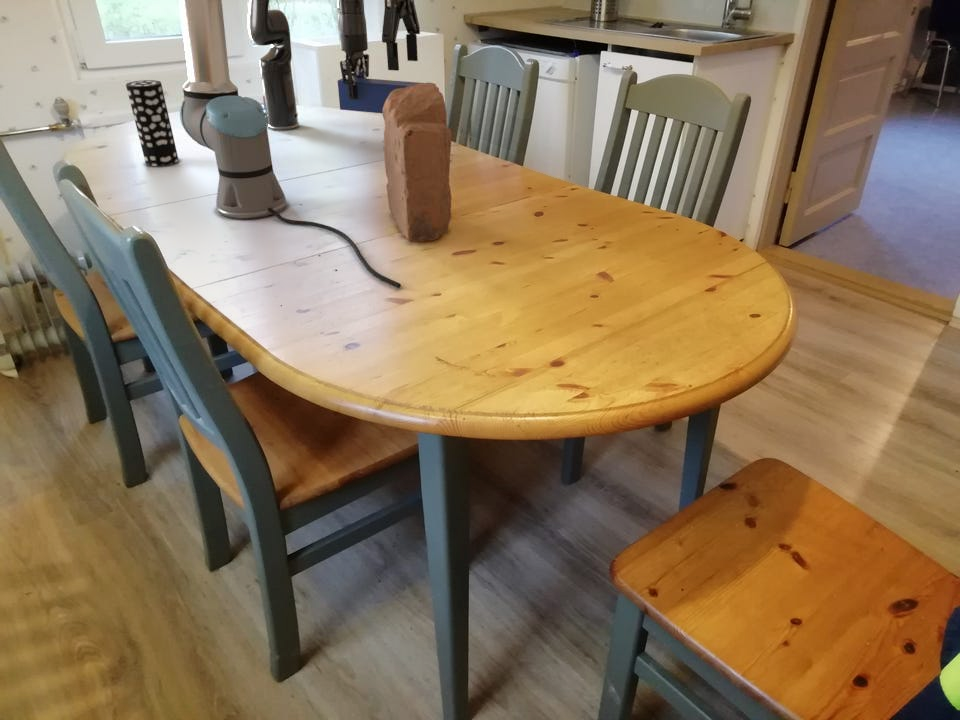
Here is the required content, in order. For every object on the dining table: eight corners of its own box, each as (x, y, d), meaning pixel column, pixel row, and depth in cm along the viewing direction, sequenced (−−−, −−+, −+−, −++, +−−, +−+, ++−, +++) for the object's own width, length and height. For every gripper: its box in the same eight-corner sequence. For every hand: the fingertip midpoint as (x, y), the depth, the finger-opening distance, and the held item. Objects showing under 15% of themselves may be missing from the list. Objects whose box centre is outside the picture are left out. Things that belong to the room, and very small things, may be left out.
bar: (430, 112, 194) (429, 83, 189) (423, 117, 189) (422, 87, 185) (348, 105, 199) (345, 76, 195) (340, 109, 195) (337, 80, 191)
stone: (462, 239, 143) (459, 96, 128) (408, 246, 140) (400, 100, 125) (434, 208, 160) (429, 79, 146) (387, 213, 157) (377, 82, 143)
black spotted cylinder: (184, 157, 190) (167, 80, 179) (169, 166, 183) (151, 87, 172) (155, 156, 190) (136, 79, 179) (139, 165, 183) (119, 86, 172)
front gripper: (402, -30, 182) (407, 56, 194) (363, -23, 162) (371, 73, 174) (429, -30, 180) (432, 57, 192) (392, -22, 160) (398, 75, 172)
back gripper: (351, 27, 192) (356, 90, 201) (327, 33, 180) (334, 101, 189) (376, 28, 190) (380, 92, 199) (354, 35, 178) (359, 103, 188)
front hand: (403, 65), depth 183 cm, fingers open, 13 cm apart
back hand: (357, 96), depth 194 cm, fingers closed on bar, 5 cm apart
